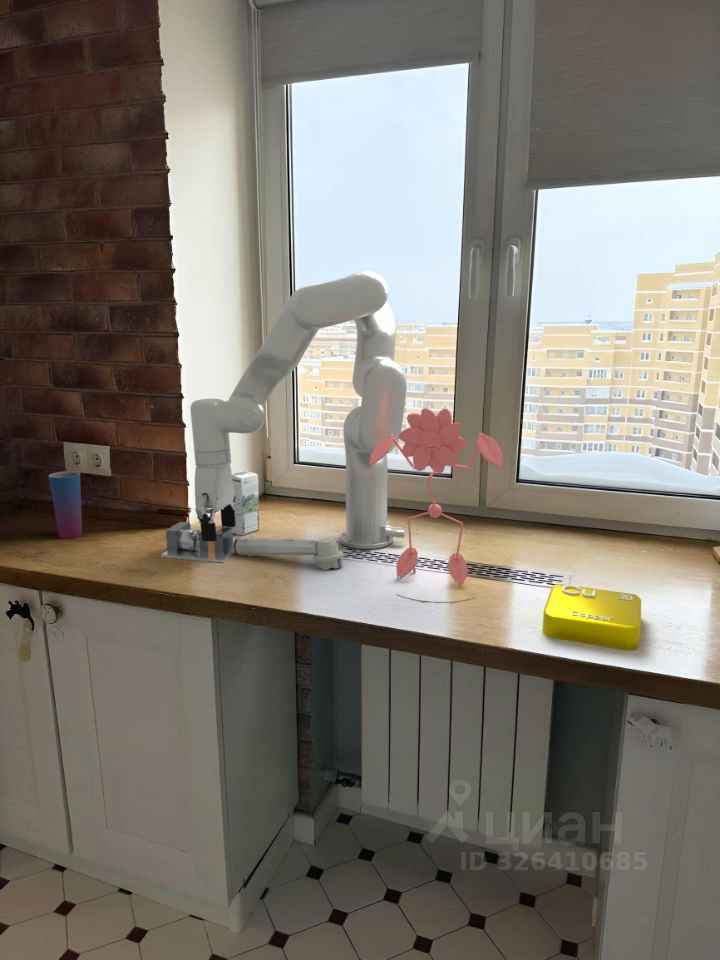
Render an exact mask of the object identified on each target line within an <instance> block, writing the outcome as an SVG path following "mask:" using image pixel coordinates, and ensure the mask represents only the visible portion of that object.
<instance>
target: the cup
mask: <svg viewBox="0 0 720 960" xmlns="http://www.w3.org/2000/svg"><path fill="white" fill-rule="evenodd" d="M48 481H49V487H50V492H51V496H52V502H53V509H54V515H55V519H56V524H57V530H58V536H59V538H60V539H74V538H78V537H80V536H82V535H83V528H82V527H83V526H82V523H83V522H82V495H81V494H82V493H81V489H82V488H81V472H79V471H74V470H72V471H71V470H69V471H58V472H54V473H51V474H49V475H48Z"/></svg>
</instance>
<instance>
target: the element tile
mask: <svg viewBox="0 0 720 960" xmlns="http://www.w3.org/2000/svg"><path fill="white" fill-rule="evenodd" d="M641 629H642V599H641V598H640V597H639V596H638V595H637V594H633V593H628V592H621V591H615V590H606V589H599V588H592V587H586V586H585V587H584V586H577V585H573V584H566V583H565V584H564V583H556V584H554V585H553V586H551V589H550V592H549V595H548V598H547V601H546V604H545V606H544V610H543V616H542V631H543V632H542V634H543V633H544V634H545V635H544V634H543V635H544V636H546V637H548V638H552V639H555V638H556V640H562V641H568V642H573V641H574V642H575V643H579V642H580V644H585V643H586V644H585V645H590V644H591V645H593V646H596V645H597V646H598V647H603V648H609V649H615V650H620V651H628V652H629V651H636V650H638V649H639V647H640V638H641ZM597 646H596V647H597Z"/></svg>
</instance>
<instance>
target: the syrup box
mask: <svg viewBox="0 0 720 960" xmlns="http://www.w3.org/2000/svg"><path fill="white" fill-rule="evenodd" d="M232 479H233V486H234V487H235V501H234V504H235V509H233V510H235V522H236V526H235V527H229V528H232V532H233V534H234V533H236V534H235V535H239V536H245V535H246V536H247V535H248V534H252V533H254V531H255V532H258V531H260V513H259V512H260V509H259V508H260V507H259V506H260V502H259V500H260V499H259V498H260V497H259V474H257V473H255V472H252V471H246V470H240V471H237V472H236V471H235V472H232Z"/></svg>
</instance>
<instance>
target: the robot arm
mask: <svg viewBox="0 0 720 960" xmlns="http://www.w3.org/2000/svg"><path fill="white" fill-rule="evenodd" d="M388 299H389V287H388V284H387V282H386V281H385V279H384V278H383V277H382V276H380V274H378V273H375V272H373V271H361V272H358V273H356V272H355V273H352V274H350V275H347V276H345V277H342V278H338V279H335V280H331V281H328V282H323V283H319V284H314V285H309V286H304V287H301V288H298V289H296V291H294V292H293V293H292V294H291V296H290V297H289V298H288V300H287V302H286V304H285V305H284V307H283V309H282V310H281V312H280V314H279V315H278V317H277V319H276V321H275V323H274V324H273V326H272V328H271V329H270V331H269V333H268V334H267V336H266V338H265V340H264V341H263V343H262V345H261V346H260V348H259V349H258V351H257V352H256V354H255V356H254V358H253V359H252V361H251V362H250V363H249V365H248V367H247V368H246V370H245V371H244V373H243V374H242V376H241V378H240V379H239V381H238V382H237V385H236V386H235V387H234V390H233V391H232V393H231V395H230V396H229V398H228V400H225V401H224V400H223V399H220V398H201V399H197V400H194V401H192V403H190V404H191V405H190V407H189V408H190V419H191V429H192V430H191V431H192V441H193V451H194V462H195V463H194V464H195V473H194V502H195V504H194V505H195V508H194V511H195V513H196V515H197V516H196V518H197V519H198V523H199V524H200V532H201V535H202V540H203V541H216V540H217V537H216V526H217V524H216V522H214V521H215V518H216V513H218V512H220V518H221V519H220V520H221V526H224V527H235V526H236V522H235V510H233V509H235V504H234V501H235V487H234V486H233V479H232V473H233V471H232V468H231V464H232V457H231V455H232V454H231V453H232V452H231V443H230V433H234V434H252V433H256V432H257V431H259V430H260V429H262V427H263V426H264V424H265V422H266V410H265V409H264V406H265V404H266V403H267V402H268V399H270V396H271V394H272V393H273V391H274V390H275V389H276V387H277V386H278V385H279V383H280V382H281V381H282V380H284V378H286V377H287V376H289V375H290V374H291V373H292V372H294V370H295V369H296V368H297V367H298V365H299V364H300V361H301V360H302V358H303V356H304V355H305V353H306V351H307V350H308V348H309V346H310V345H311V344H312V341H313V339H314V338H315V337H316V336H317V333H318V331H319V330H320V329H323V328H327V327H331V326H335V325H340V324H344V323H346V322H351V321H353V320H354V323H355V327H356V348H355V349H356V351H355V358H354V366H353V374H352V387H353V389H354V391H355V393H356V394H357V395H358V396H359V397H361V404H360V405H359V406H356V407H354V408H353V409H351V411H349V413H348V414H347V415H346V417H345V420H344V422H343V427H342V428H343V442H344V451H345V452H344V453H345V454H344V455H345V531H343V532H341V533H340V535H339V543H340V544H342V545H344V546H345V547H349V548H352V549H358V550H359V549H360V550H374V549H382V548H385V547H388V546H389V545H392V544H393V543H394V538H398V539H399V538H401V539H404V538H406V537H405V536H406V529H403V527H401V526H392V525H391V520H388V477H389V476H388V471H389V470H388V454H389V453H391V452H392V451H393V450H395V448H396V447H397V446H396V444H395V443H394V441H393V443H392V446H391V448H390V449H389V451H388V453H387V454H386V455H385V456H384V457H383V458H382V459H380V460H379V461H377V462H376V463H374V464H373V465H370V458H371V454H372V452H373V450H374V448H375V447H376V446H377V444H378V443H379V442H380V441H382V440H383V439H384V438H385V437H387V436H390V435H391V434H393V435H394V438H395V440H396V441H397V442H398V443H399V441H400V439H399V434H400V433H401V432H402V431H403V422H404V413H405V406H406V399H407V386H408V385H407V379H406V378H407V377H406V375H405V372H404V371H403V369H402V367H401V366H400V365H399V364H397V363H396V362H395V353H396V339H397V329H396V328H397V326H396V320H395V316H394V313H393V311H392V309H391V307H390V305H389V303H388V302H387V301H388ZM208 514H209V516H208Z"/></svg>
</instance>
